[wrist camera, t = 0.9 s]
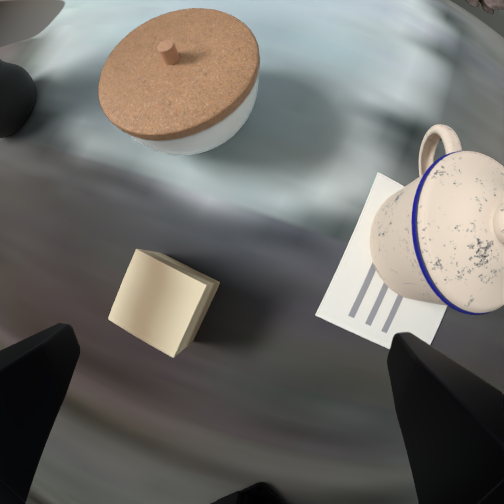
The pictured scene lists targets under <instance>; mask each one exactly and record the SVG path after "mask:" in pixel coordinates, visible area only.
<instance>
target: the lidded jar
mask: <svg viewBox="0 0 504 504" xmlns="http://www.w3.org/2000/svg"><path fill="white" fill-rule="evenodd" d="M259 64H260V56H259V48H258V44H257V41H256V39H255V36H254V35H253V33H252V32H251V30H250V29H249V28H248V27H247V26H246V25H245V24H244V23H243V22H241V21H240V20H238V19H237V18H235V17H234V16H231V15H229V14H227V13H224V12H221V11H217V10H212V9H201V8H192V9H183V10H178V11H173V12H169V13H166V14H163V15H160V16H158V17H156V18H153V19H151V20H149V21H147V22H145V23H144V24H142V25H140V26H139V27H137V28H136V29H134V30H133V31H132V32H130V33H129V34H128V35H127V36H126V37H125V38H124V39H123V40H122V41H121V42H120V43H119V44H118V45H117V46H116V47H115V48H114V50H113V51H112V53H111V54H110V55H109V57H108V59H107V61H106V63H105V64H104V66H103V69H102V72H101V75H100V80H99V86H98V96H99V101H100V105H101V107H102V109H103V111H104V113H105V115H106V116H107V117H108V119H109V120H110V121H111V122H112V123H113V124H114V125H116V126H117V127H118V128H119V129H121V130H122V131H123V132H125V133H127V134H128V135H129V136H131V137H132V138H133V139H134V140H136V141H137V142H139V143H141V144H142V145H144V146H146V147H148V148H150V149H152V150H155V151H158V152H161V153H164V154H170V155H193V154H199V153H203V152H206V151H209V150H211V149H214V148H216V147H218V146H220V145H221V144H223V143H225V142H226V141H228V140H229V139H230V138H231V137H233V136H234V135H235V134H236V133H237V132H238V130H239V129H240V128H241V127H242V126H243V125H244V123H245V122H246V120H247V119H248V117H249V115H250V113H251V111H252V109H253V106H254V104H255V100H256V97H257V92H258V83H259Z"/></svg>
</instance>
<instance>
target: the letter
mask: <svg viewBox="0 0 504 504" xmlns="http://www.w3.org/2000/svg"><path fill="white" fill-rule="evenodd" d="M402 188H404V186H403V185H401V184H399V183H397V182H395V181H394V180H392V179H390V178H388V177H386V176H384V175H383V174H381V173H379V172H378V173H377V175H376V178H375V180H374V183H373V186H372V188H371V191H370V193H369V196H368V198H367V201H366V203H365V206H364V208H363V211H362V213H361V215H360V218H359V220H358V223H357V225H356V227H355V230H354V232H353V234H352V237H351V239H350V241H349V244H348V246H347V248H346V250H345V253H344V255H343V257H342V259H341V262H340V264H339V266H338V268H337V270H336V272H335V275H334V277H333V279H332V281H331V283H330V285H329V287H328V290H327V292H326V294H325V296H324V298H323V300H322V302H321V304H320V306H319V308H318V310H317V312H316V314H315V315H316V316H318V317H320V318H322V319H324V320H326V321H329V322H331V323H333V324H335V325H337V326H339V327H342V328H344V329H346V330H348V331H350V332H353V333H355V334H357V335H359V336H361V337H364V338H366V339H368V340H370V341H372V342H375V343H377V344H379V345H381V346H384V347H386V348H388V349H390V347H391V343H392V339H393V336H394V335H395V334H396V333H399V332H410V333H412V334H414V335H415V336H417V337H418V338H420V339H421V340H423V341H424V342H426V343H428V344H429V345H430V344H431V342H432V340H433V338H434V336H435V334H436V331H437V329H438V327H439V325H440V322H441V320H442V318H443V315H444V313H445V310H446V308H447V306H445V305H440V304H434V303H429V302H423V301H418V300H413V299H408V298H405V297H402V296H400V295H398V294H397V293H395V292H394V291H392V290H391V289H390V288H389V287H388V286H387V285H386V284H385V283H384V282H383V281H382V279H381V278H380V276H379V275H378V273H377V271H376V269H375V266H374V264H373V261H372V257H371V252H370V231H371V226H372V222H373V220H374V217H375V215H376V213H377V211H378V209H379V208H380V207H381V205H382V204H383V203H384V202H385V201H386V200H387V199H388V198H389V197H390V196H392V195H393V194H395V193H396V192H398V191H399V190H401V189H402Z"/></svg>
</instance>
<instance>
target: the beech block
mask: <svg viewBox="0 0 504 504" xmlns="http://www.w3.org/2000/svg"><path fill="white" fill-rule="evenodd" d="M219 284H220V282H218V281H216V280H214V279H212V278H210V277H208V276H206V275H204V274H202V273H200V272H198V271H196V270H194V269H192V268H190V267H188V266H186V265H184V264H182V263H180V262H178V261H176V260H174V259H173V258H171V257H169V256H167V255H165V254H163V253H157V252H152V251H146V250H140V249H136V251H135V253H134V256H133V258H132V260H131V263H130V265H129V267H128V270H127V272H126V274H125V277H124V279H123V282H122V284H121V287H120V289H119V292H118V294H117V297H116V299H115V302H114V304H113V307H112V309H111V312H110V315H109V317H108V319H109V320H110V321H112V322H113V323H115V324H116V325H118V326H120V327H121V328H123V329H125V330H126V331H128V332H129V333H131V334H133V335H134V336H136V337H138V338H139V339H141V340H143V341H145V342H146V343H148V344H150V345H152V346H153V347H155V348H157V349H159V350H160V351H162V352H164V353H166V354H168V355H169V356H171V357H173V358H174V357H175V356H176V355H177V354H179V353H180V352H181V351H182V350H183V349H185V348H186V347H187V346H188V345H189V344H190V343H192V342H193V340H194V338H195V336H196V334H197V332H198V329H199V327H200V325H201V323H202V321H203V319H204V316H205V314H206V312H207V310H208V308H209V306H210V304H211V301H212V299H213V297H214V295H215V293H216V291H217V289H218V287H219Z"/></svg>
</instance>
